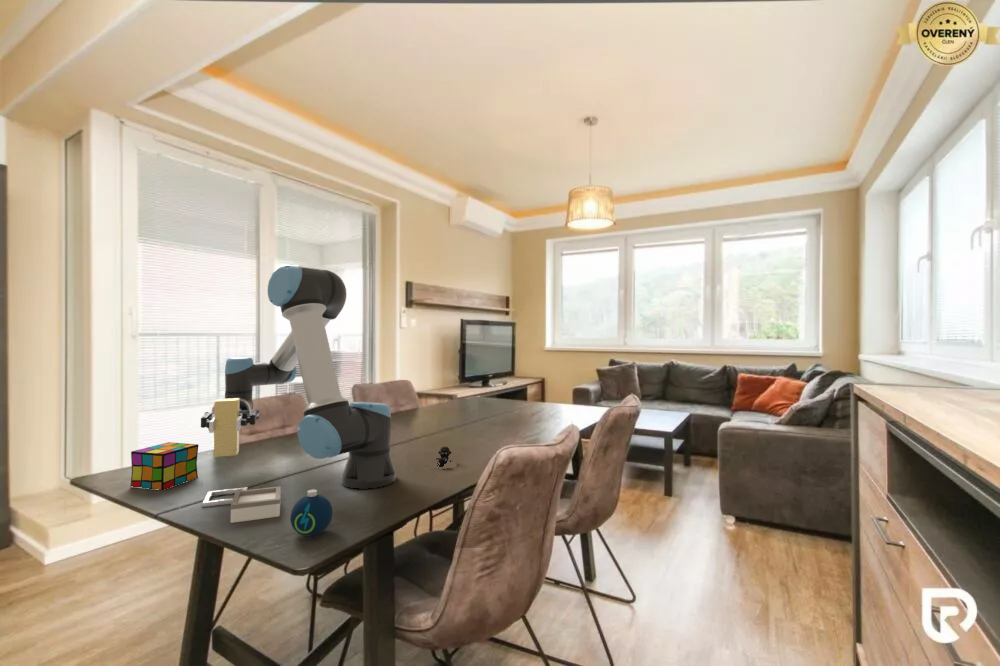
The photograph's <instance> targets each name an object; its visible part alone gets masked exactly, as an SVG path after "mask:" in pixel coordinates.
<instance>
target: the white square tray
mask: <svg viewBox="0 0 1000 666" xmlns="http://www.w3.org/2000/svg"><path fill="white" fill-rule="evenodd" d="M281 492H282V485H281V486H271V487H262V488H254V489H253V488H252V489H251V488H250V489H247V490H242V491H236V492H235V493H234V494H233V501H232V504H230V524H231V523H240V522H248V521H256V520H262V519H269V518H270V519H271V518H276V517H277V518H278V517H280V516H281V495H282V493H281Z"/></svg>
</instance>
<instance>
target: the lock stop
mask: <svg viewBox="0 0 1000 666" xmlns="http://www.w3.org/2000/svg"><path fill="white" fill-rule="evenodd" d="M239 410H240V398H227V399H225V398H217V399H216V400H215V401H214V414H215V429H214V432H213V434H214V437H213V438H214V439H213V440H214V441H213V444H214V445H213V448H214V449H213V456H214V457H213V458H219V457H231V456H238V453H239V451H240V431H236V420H237V418H238V417H239Z"/></svg>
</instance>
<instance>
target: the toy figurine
mask: <svg viewBox="0 0 1000 666" xmlns="http://www.w3.org/2000/svg"><path fill="white" fill-rule="evenodd" d="M438 454H439V456H440V457H436V458H435V460H438V462H439V463H440V465H439V464H438V463H437V464H438V465H439V467H443V466H444V464H446V463H447V461H448V460H449V456H450V455H451V454H452V451H450V448H449V447H448V446H442V447H441V448H440V450H439V451H438ZM449 461H450V462H451V461H452V460H449ZM438 465H437V466H438Z"/></svg>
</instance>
